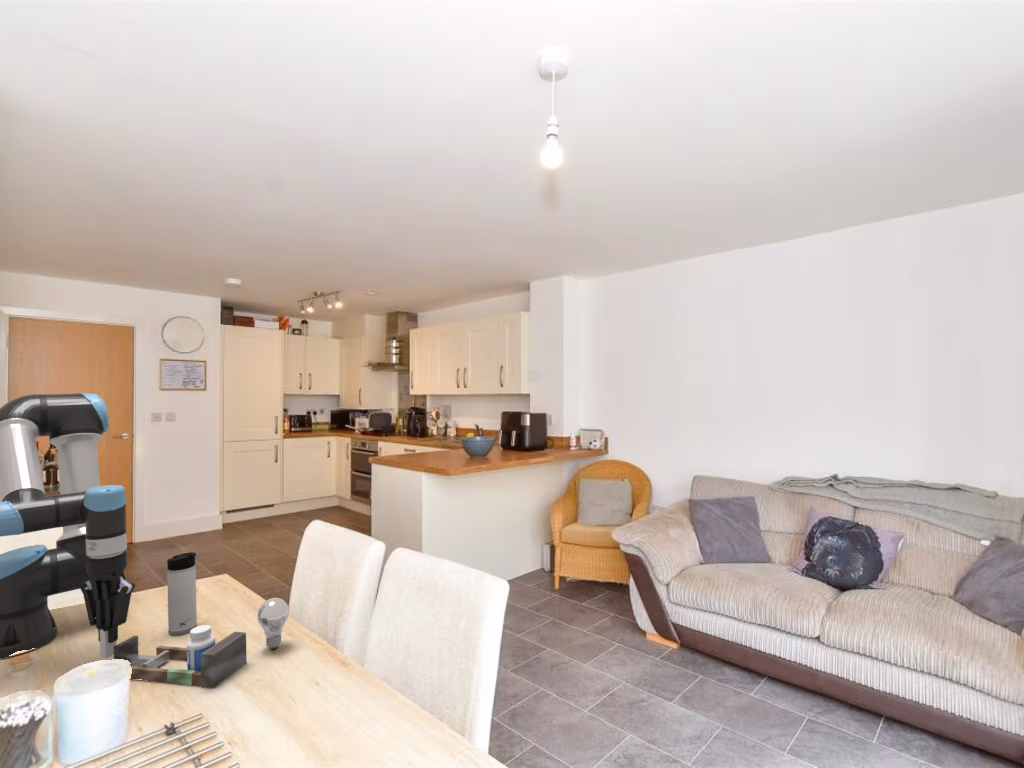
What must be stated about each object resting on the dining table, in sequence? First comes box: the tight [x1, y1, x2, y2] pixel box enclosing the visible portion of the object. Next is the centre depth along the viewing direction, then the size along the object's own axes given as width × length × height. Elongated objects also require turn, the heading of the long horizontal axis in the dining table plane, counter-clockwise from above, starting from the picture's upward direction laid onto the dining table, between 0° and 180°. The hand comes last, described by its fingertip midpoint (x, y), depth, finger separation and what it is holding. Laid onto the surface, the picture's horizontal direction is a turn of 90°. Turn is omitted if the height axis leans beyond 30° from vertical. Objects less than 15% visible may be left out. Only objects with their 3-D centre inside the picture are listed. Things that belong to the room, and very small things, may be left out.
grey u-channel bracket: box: [113, 635, 171, 668], centre depth 118 cm, size 9×6×5 cm, turn 79°
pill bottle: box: [186, 624, 216, 672], centre depth 115 cm, size 6×5×10 cm
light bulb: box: [256, 597, 290, 650], centre depth 125 cm, size 7×7×12 cm
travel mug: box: [166, 551, 198, 637], centre depth 136 cm, size 6×7×20 cm
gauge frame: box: [130, 631, 248, 689], centre depth 116 cm, size 23×10×7 cm, turn 79°
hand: (108, 655), depth 120 cm, fingers closed
